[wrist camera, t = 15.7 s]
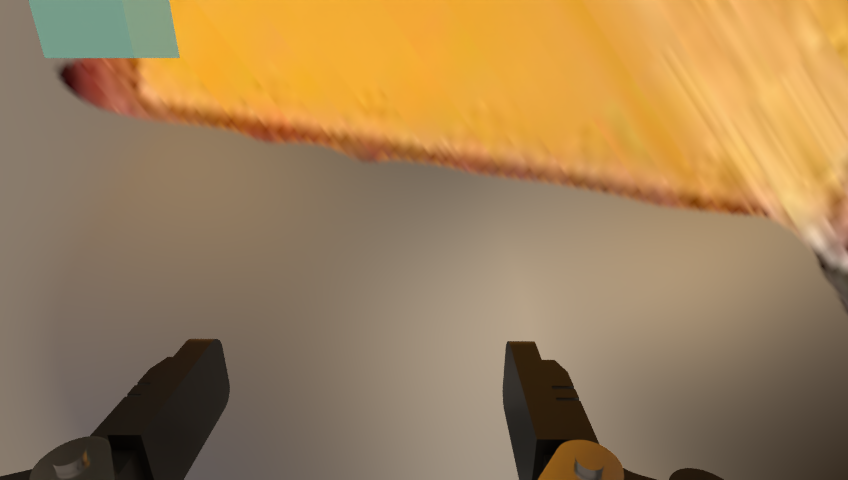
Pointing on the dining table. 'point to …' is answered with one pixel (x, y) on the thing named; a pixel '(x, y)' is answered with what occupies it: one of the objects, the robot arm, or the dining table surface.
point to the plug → (105, 28)
